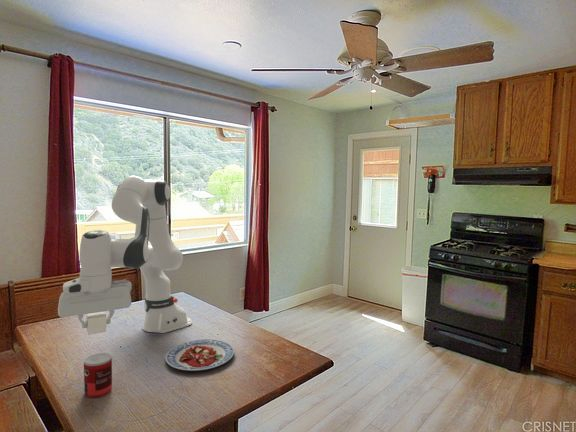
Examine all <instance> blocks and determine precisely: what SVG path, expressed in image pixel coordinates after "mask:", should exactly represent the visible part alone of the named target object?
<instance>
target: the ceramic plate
mask: <svg viewBox="0 0 576 432" xmlns="http://www.w3.org/2000/svg"><path fill="white" fill-rule="evenodd" d="M234 350H235V349H234V348H233V346H232V345H231V344H230V343H227V342H225V341H222V340H218V339H207V338H206V339H195V340H194V339H193V340H190V341H185V342H183V343H180V344H178V345H175V346H174V347H172V348H171V349H169V351H168V352H167V353H166V354H165V361H166V363H167V365H169V366H170V367H172V368H173V369H177V370H180V371H181V370H182V371H191V372H192V371H194V372H195V371H205V370H210V369H214V368H216V367H219V366H222V365H224V364H225V363H227V362H228V361H230V360H231V359H232V358H233V356H234V352H235V351H234Z"/></svg>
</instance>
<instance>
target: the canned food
mask: <svg viewBox="0 0 576 432" xmlns="http://www.w3.org/2000/svg"><path fill="white" fill-rule="evenodd" d="M112 360H113V358H112V355H111V354H110V353H107V352H99V353H94V354H90V355H89V356H87V357H85V358H84V360H83V384H84V386H83V387H84V388H83V389H84V390H83V392H84V394H85V396H86V397H87V398H93V399H94V398H95V399H97V398H101V397H103V396H107V394H109V393H110V392H111V390H112V388H113V363H112V362H113V361H112Z"/></svg>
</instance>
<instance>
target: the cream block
mask: <svg viewBox="0 0 576 432" xmlns="http://www.w3.org/2000/svg"><path fill="white" fill-rule="evenodd" d="M85 315H86V318H85V319H86V320H85V321H87V322H88V325H87V326H88V328H85V329H86V333H87V335H88V336H89V335H90V336H91V335H96V334H100V333H106V332H107V324H106V318H107V314H106V311H103V312H96V313H90V314H85Z"/></svg>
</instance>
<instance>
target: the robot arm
mask: <svg viewBox="0 0 576 432" xmlns="http://www.w3.org/2000/svg"><path fill="white" fill-rule="evenodd" d="M171 194H172V193H171V188H170V184H169V183H168V182H167V181H165V180H162V179H157V180H155V179H154V180H153V179H143V178H142V177H140V176H138V175H137V176H136V175H129V176H127V177H125V178H124V179H123V180H122V181H121V183H120V184H119V185H118V186H117V188H116V191H115V193H114V196H113V198H112V201H111V209H112V211H113V213H114V214H115V216H117V217H118V218H119V219H120V220H123V221H125V222H129V223H131V224H134V225H135V230H134V231H135V233H134V237H131V238H111V237H110V232H108V231H106V230H100V229H99V230H91V231H87V232H84V233H83V234H82V235H81V240H80V245H79V263H80V270H79V277H77V278H74V279H71V280H69V281H66V282H64V283H63V285H62V292H61V293H60V296H59V300H58V305H57V315H58V316H59V317H60V318H61V319H63V318H67V317H68V318H70V317H76V316H77V319H78V321H79V322H80V323H81V329H86V328H88V326H87V325H88V322H87V321H86V320H84V315H86V314H91V313H98V312H107V311H108V315H107V316H106V325H110V324H111V323H112V322H111V321H112V318H113V316H114V314H115V310H122V309H128V308H130V307H131V305H132V297H131V291H132V282H131V281H130V280H127V279H120V280H117V279H116V280H113V279H112V278H113V277H112V274H113V273H112V272H113V271H112V268H129V269H139V270H140V271H141V274H142V276H143V279H144V284H145V298H144V311H145V313H144V320H143V325H142V330H143V331H145V332H149V333H159V334H166V333H168V332H169V333H170V332H172V331H175V330H179V329H183V328H186V327H190V326H191V325H192V324H193V322H192V321H193V320H192V319H191V318H190V317H188V316H187V312H186V310H185V309H184V307H181V306H180V305H178V304H176V303H178V298H177V297H174V296H172V295H171V279H170V278H169V277H168V276H167V275H166V274H165V271H175V270H178V269H179V268H180V267H181V266H182V264H183V261H184V255H183V252H182V251H181V250H180V249H179V248H178V247H177V246H176V245H175V243H174V242H173V240H172V238H171V235H170V232H169V226H168V220H167V219H168V218H167V211H166V206H165V204H168V202H169V201H170V198H171ZM189 325H190V326H189Z"/></svg>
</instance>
